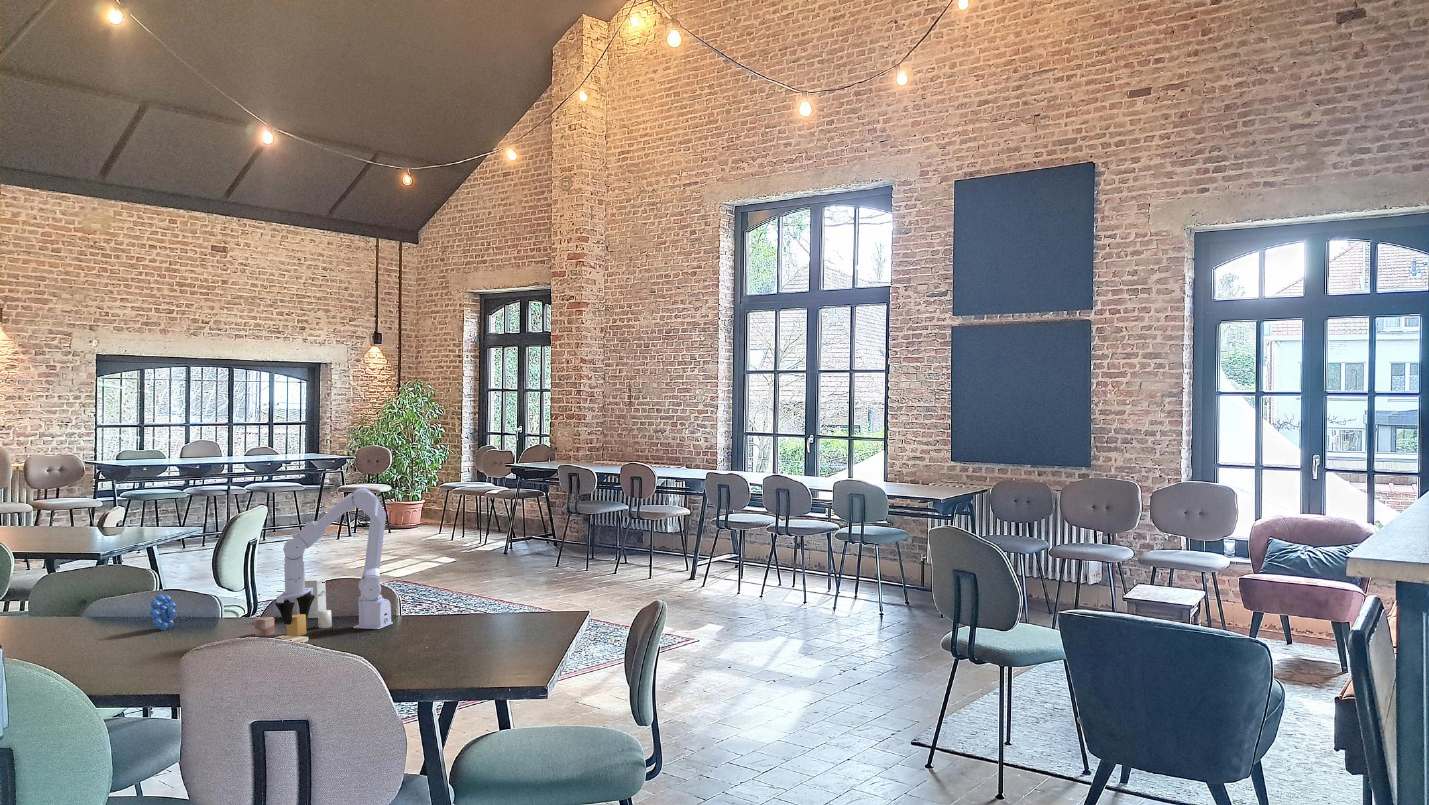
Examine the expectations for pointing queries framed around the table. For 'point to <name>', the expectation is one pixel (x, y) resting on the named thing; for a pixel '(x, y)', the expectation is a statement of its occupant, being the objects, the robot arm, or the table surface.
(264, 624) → the rose block
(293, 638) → the ash board
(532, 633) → the table surface
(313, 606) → the supplement box
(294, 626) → the ochre block
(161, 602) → the grapes
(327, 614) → the grey cylinder
